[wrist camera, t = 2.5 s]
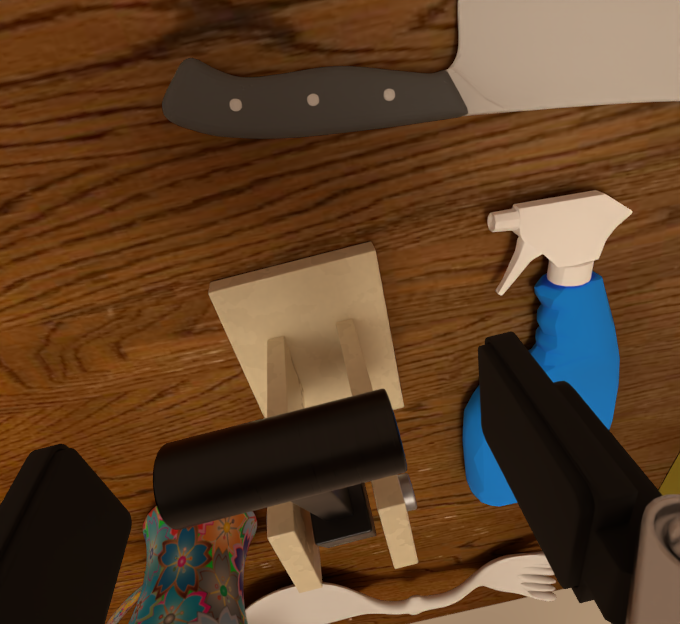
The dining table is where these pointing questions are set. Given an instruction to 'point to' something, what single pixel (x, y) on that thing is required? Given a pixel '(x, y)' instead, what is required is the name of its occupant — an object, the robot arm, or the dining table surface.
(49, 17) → the dining table surface
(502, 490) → the spray bottle
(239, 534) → the mug
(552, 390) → the robot arm
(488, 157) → the dining table surface
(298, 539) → the beige block stand
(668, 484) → the flat olive board
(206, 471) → the lever
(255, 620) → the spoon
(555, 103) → the kitchen knife
